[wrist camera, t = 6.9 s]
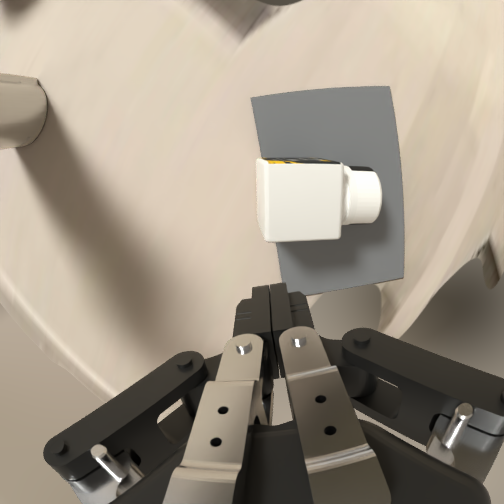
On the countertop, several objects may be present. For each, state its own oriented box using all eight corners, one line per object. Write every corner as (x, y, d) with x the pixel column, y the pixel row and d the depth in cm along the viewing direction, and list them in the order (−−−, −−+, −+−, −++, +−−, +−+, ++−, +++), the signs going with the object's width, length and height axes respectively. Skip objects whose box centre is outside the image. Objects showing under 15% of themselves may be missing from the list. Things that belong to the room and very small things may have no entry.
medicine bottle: (255, 157, 31) (360, 159, 32) (256, 222, 33) (357, 219, 34) (263, 161, 24) (391, 165, 25) (265, 244, 27) (386, 238, 27)
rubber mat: (250, 98, 29) (250, 97, 29) (388, 86, 28) (389, 86, 28) (284, 297, 38) (284, 298, 37) (402, 276, 36) (403, 277, 36)
